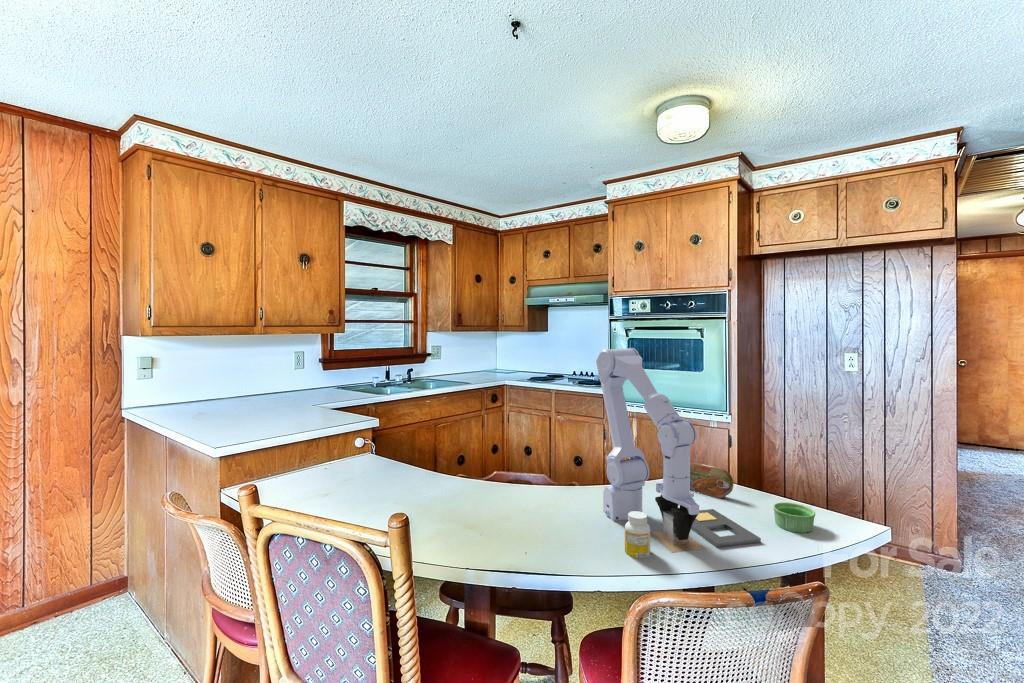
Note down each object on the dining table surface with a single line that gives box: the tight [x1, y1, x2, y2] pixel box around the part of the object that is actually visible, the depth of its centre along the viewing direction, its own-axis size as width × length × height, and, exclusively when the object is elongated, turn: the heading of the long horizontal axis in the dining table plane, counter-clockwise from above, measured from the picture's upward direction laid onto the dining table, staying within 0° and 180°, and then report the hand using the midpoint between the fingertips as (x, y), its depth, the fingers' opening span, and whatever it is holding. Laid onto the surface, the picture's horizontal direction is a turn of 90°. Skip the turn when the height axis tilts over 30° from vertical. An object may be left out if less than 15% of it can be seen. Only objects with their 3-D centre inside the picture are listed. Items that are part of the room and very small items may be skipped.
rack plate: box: [690, 508, 762, 549], centre depth 113 cm, size 11×17×3 cm, turn 12°
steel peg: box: [662, 511, 689, 545], centre depth 107 cm, size 4×4×6 cm
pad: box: [650, 530, 706, 553], centre depth 108 cm, size 8×10×2 cm
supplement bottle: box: [624, 511, 651, 559], centre depth 102 cm, size 5×5×10 cm
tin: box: [690, 462, 734, 499], centre depth 140 cm, size 15×3×8 cm, turn 42°
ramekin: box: [772, 501, 816, 534], centre depth 118 cm, size 9×9×4 cm
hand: (676, 533), depth 107 cm, fingers open, 5 cm apart
